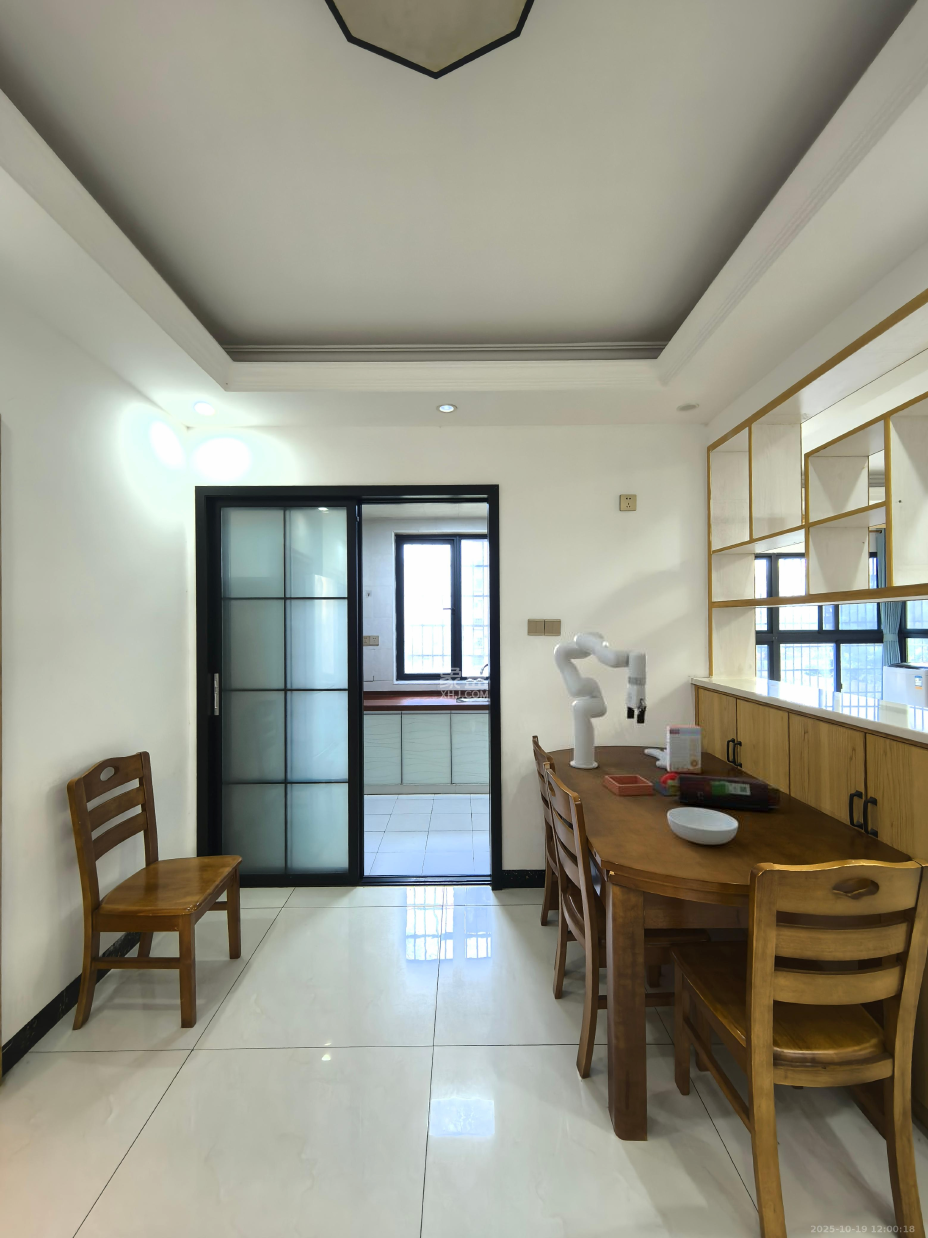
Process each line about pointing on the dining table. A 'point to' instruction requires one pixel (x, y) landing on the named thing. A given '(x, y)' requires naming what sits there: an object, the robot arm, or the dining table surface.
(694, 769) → the cracker box
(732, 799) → the packaged item
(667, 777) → the cap
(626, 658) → the robot arm
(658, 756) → the holder
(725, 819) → the serving bowl
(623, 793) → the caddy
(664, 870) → the dining table surface
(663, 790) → the mat
